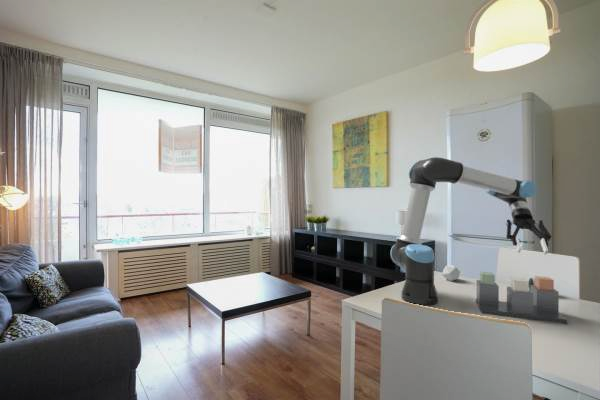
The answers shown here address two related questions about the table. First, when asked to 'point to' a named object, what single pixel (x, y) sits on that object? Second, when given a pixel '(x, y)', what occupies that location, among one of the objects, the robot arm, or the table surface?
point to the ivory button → (519, 284)
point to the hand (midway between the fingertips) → (532, 251)
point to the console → (520, 303)
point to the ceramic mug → (531, 282)
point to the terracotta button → (544, 283)
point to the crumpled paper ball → (451, 273)
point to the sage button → (487, 278)
